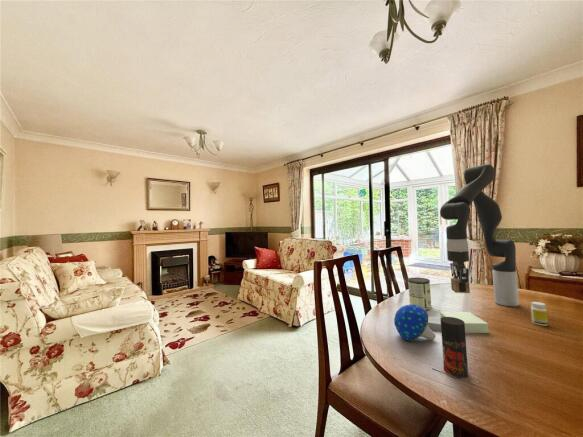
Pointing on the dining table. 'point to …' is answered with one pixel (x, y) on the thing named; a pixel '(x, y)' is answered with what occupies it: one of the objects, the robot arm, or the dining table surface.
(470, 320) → the sage block
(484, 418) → the dining table surface
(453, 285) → the walnut cube
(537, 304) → the supplement bottle
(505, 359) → the dining table surface
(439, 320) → the slate block
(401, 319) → the mushroom
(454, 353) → the deodorant
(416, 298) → the coffee can
